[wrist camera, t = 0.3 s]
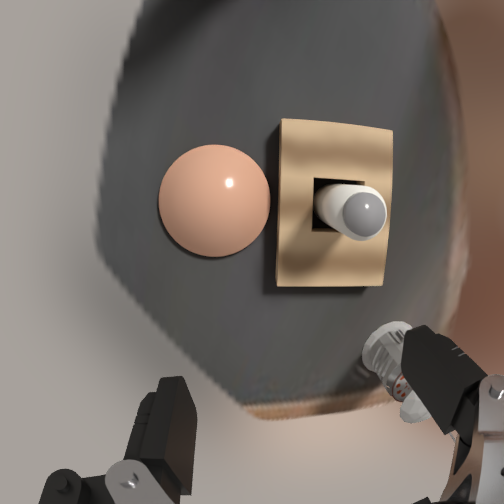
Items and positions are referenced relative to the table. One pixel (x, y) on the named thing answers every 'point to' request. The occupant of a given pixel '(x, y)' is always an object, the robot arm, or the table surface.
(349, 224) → the pepper mill
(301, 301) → the table surface
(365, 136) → the mill caddy
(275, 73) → the table surface
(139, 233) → the table surface
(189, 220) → the terracotta plate
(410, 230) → the table surface
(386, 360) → the french press
